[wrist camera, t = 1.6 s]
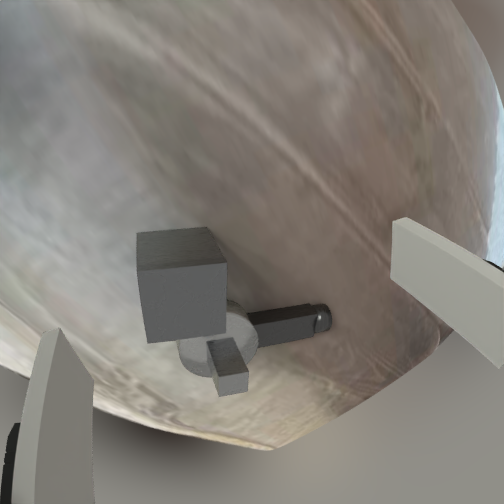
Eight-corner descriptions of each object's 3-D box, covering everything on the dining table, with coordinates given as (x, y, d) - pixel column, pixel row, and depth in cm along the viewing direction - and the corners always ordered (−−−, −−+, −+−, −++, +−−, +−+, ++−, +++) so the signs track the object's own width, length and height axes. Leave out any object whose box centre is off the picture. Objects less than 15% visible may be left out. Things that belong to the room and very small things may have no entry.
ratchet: (177, 359, 39) (192, 418, 31) (171, 300, 35) (184, 359, 27) (313, 335, 45) (347, 381, 36) (323, 280, 41) (366, 323, 33)
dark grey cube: (143, 294, 33) (147, 343, 26) (136, 232, 30) (136, 271, 23) (207, 287, 35) (226, 333, 28) (206, 227, 32) (227, 262, 25)
